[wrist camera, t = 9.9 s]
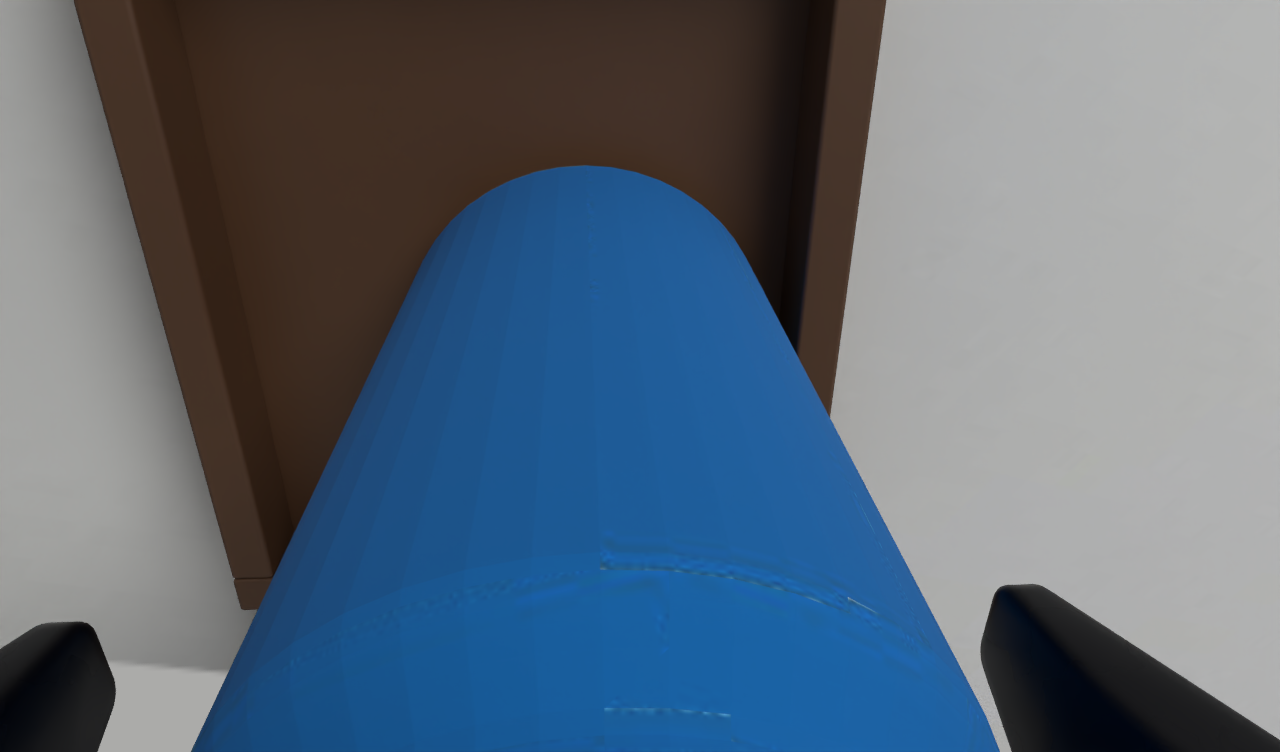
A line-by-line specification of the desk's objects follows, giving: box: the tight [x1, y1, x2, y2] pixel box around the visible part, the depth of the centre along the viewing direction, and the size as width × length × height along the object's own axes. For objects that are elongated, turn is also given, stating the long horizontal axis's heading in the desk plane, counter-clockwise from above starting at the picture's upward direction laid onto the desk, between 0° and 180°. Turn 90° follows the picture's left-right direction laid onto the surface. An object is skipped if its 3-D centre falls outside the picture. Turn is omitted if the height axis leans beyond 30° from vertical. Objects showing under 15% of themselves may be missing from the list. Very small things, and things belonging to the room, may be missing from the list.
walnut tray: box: [74, 0, 886, 610], centre depth 15 cm, size 14×12×2 cm
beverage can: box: [191, 165, 1000, 752], centre depth 11 cm, size 6×6×12 cm
